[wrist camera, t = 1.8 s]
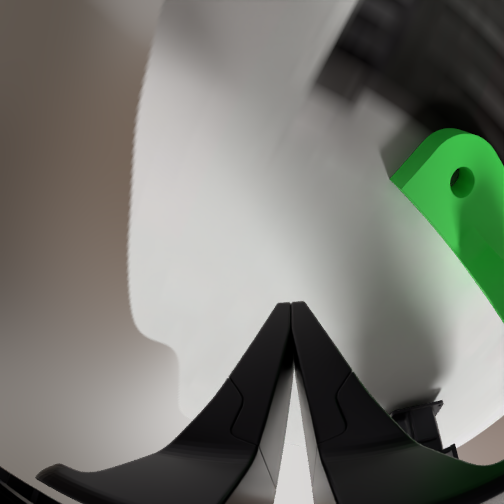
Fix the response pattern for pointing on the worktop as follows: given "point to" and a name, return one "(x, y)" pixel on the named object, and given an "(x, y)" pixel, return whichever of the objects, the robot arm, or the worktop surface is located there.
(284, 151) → the worktop surface
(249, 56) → the worktop surface
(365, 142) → the worktop surface
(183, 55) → the worktop surface
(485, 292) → the mechanical part
